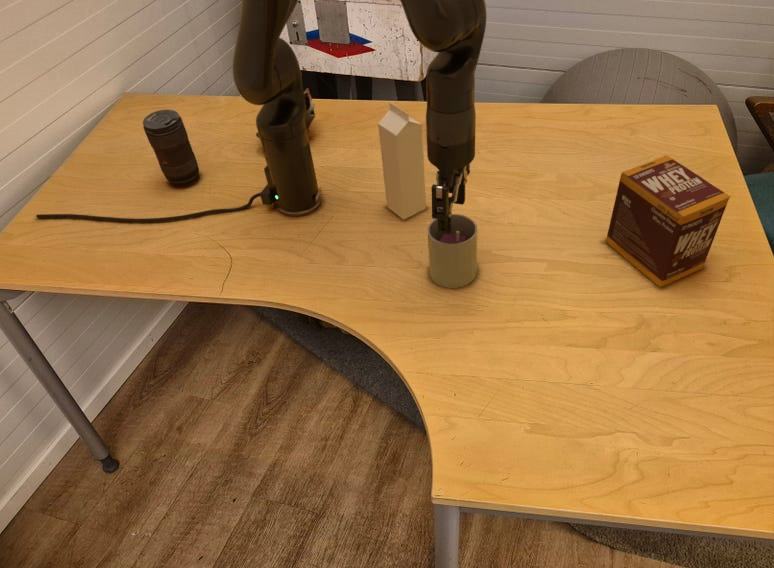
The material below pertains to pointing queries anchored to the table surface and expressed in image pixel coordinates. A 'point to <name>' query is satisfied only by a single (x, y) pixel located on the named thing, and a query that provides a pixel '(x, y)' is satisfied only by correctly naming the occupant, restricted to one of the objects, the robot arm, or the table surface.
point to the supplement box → (665, 219)
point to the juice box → (453, 238)
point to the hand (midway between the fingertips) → (451, 217)
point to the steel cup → (453, 253)
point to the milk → (402, 162)
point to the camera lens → (172, 147)
